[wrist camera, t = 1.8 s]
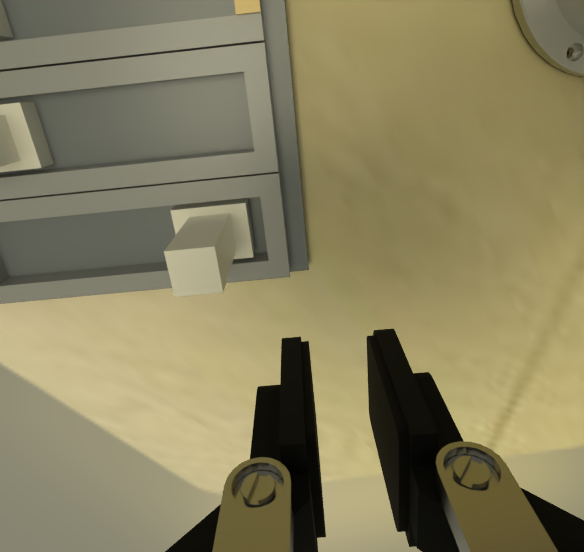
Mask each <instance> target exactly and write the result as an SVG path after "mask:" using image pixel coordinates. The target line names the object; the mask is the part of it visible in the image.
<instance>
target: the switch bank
mask: <svg viewBox="0 0 584 552" xmlns="http://www.w3.org/2000/svg"><path fill="white" fill-rule="evenodd" d="M2 3H3V6H4V9H5V12H6V15H7V18H8V21H9V24H10V28H11V31H12V34H13V37H14V38H9V39H0V105H1V104H11V103H20V102H33V101H34V103H35V106H36V109H37V112H38V115H39V118H40V121H41V124H42V128H43V131H44V134H45V137H46V140H47V143H48V146H49V149H50V153H51V156H52V159H53V162H54V164H52V165H49V166H46V167H43V168H37V169H27V170H17V171H8V172H0V304H4V303H14V302H25V301H36V300H47V299H57V298H68V297H79V296H90V295H101V294H111V293H122V292H133V291H144V290H154V289H165V288H172V284H171V280H170V276H169V272H168V267H167V263H166V259H165V255H164V250H165V249H166V248H167V246H168V245H169V244H170V242H171V241H172V239H173V238H174V237H175V235H176V234H175V229H174V225H173V220H172V216H171V211H170V210H171V209H172V208H173V207H174V206H175V205H180V204H190V203H200V202H211V201H221V200H231V199H241V198H248V204H249V211H250V218H251V225H252V232H253V239H254V246H255V252H254V257H253V258H242V259H233V262H232V266H231V269H230V272H229V275H228V278H227V282H226V283H230V282H241V281H251V280H262V279H273V278H284V277H290V272H292V271H302V270H309V267H308V256H307V245H306V234H305V223H304V212H303V201H302V189H301V178H300V167H299V156H298V145H297V134H296V123H295V112H294V101H293V89H292V78H291V67H290V56H289V45H288V34H287V23H286V12H285V1H284V0H2Z"/></svg>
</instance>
